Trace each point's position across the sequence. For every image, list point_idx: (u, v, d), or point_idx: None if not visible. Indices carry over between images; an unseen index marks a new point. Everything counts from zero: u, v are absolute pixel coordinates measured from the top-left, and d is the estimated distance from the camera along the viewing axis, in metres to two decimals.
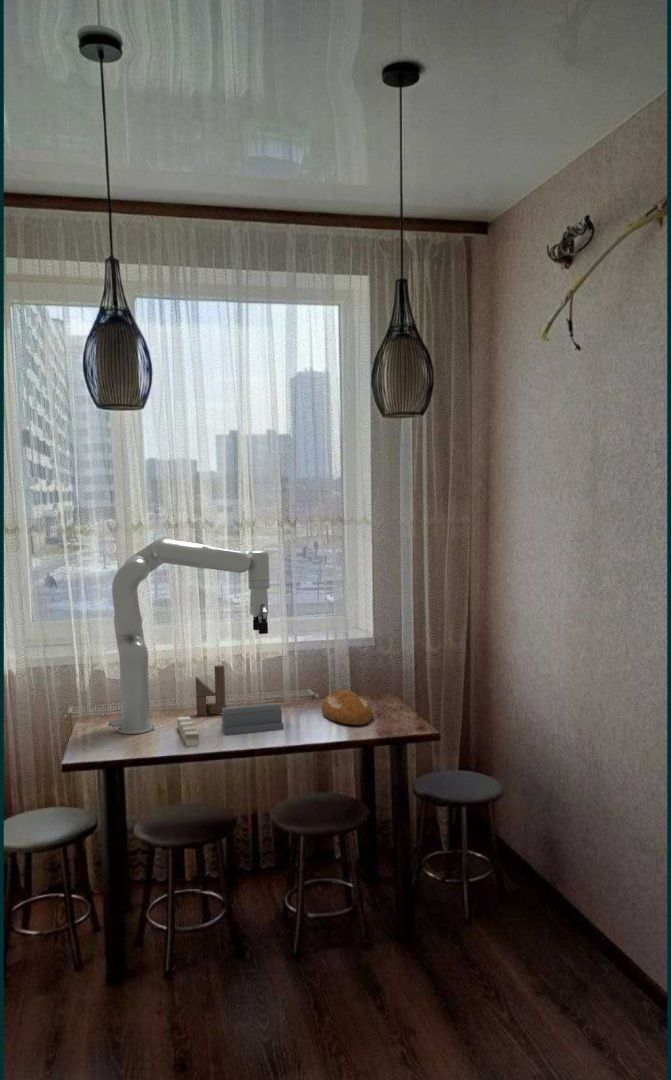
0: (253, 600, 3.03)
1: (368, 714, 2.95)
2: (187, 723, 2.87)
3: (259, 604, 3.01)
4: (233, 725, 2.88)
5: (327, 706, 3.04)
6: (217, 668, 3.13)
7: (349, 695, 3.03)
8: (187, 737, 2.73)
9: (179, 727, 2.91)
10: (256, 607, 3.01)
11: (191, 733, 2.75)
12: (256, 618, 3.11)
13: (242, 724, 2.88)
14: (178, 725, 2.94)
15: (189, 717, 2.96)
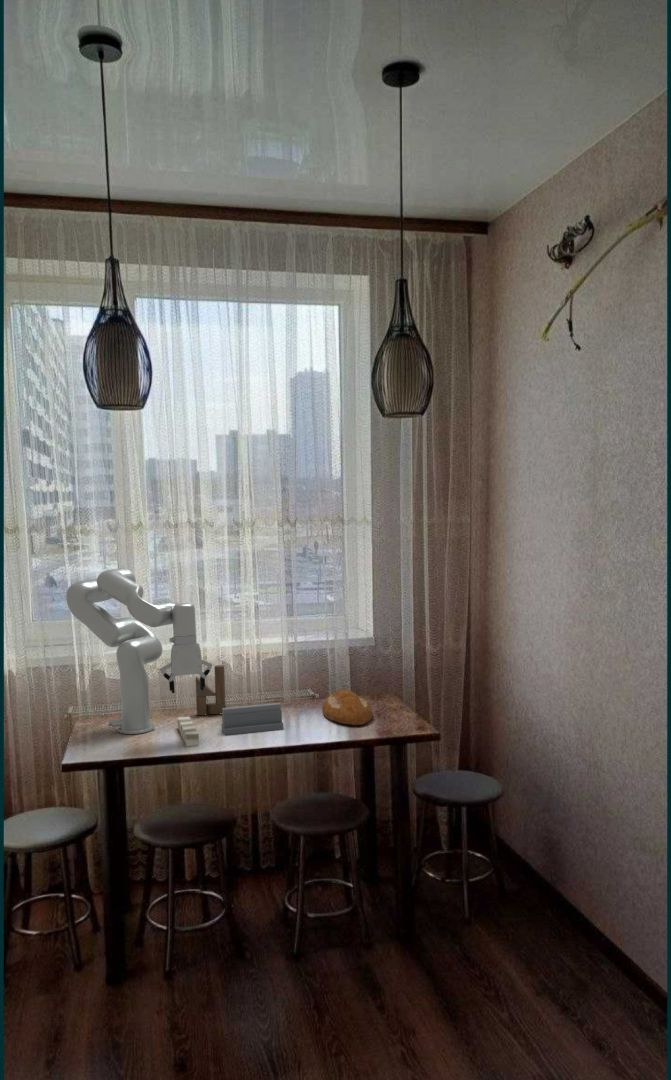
0: (194, 656, 2.82)
1: (367, 715, 2.95)
2: (187, 723, 2.87)
3: None
4: (233, 725, 2.88)
5: (327, 706, 3.04)
6: (217, 668, 3.13)
7: (349, 695, 3.03)
8: (187, 737, 2.73)
9: (179, 727, 2.91)
10: (201, 662, 2.83)
11: (191, 733, 2.75)
12: (172, 679, 2.83)
13: (242, 724, 2.88)
14: (178, 725, 2.94)
15: (189, 717, 2.96)
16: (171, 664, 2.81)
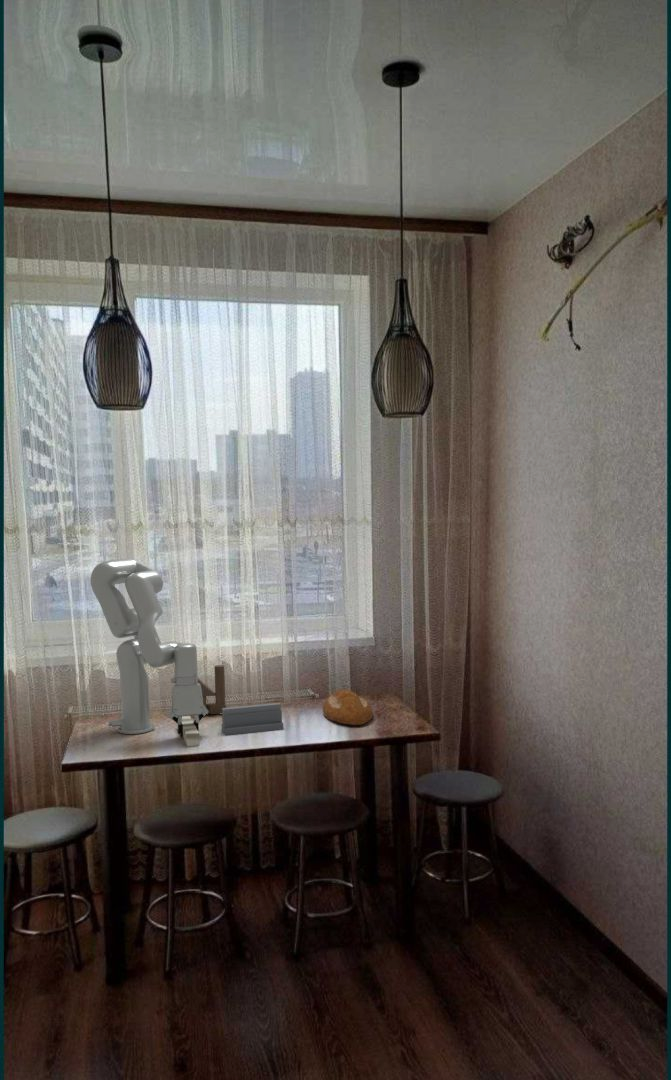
0: (195, 697, 2.83)
1: (367, 715, 2.95)
2: (188, 722, 2.87)
3: (202, 699, 2.85)
4: (233, 725, 2.88)
5: (327, 706, 3.04)
6: (217, 668, 3.13)
7: (349, 695, 3.03)
8: (188, 736, 2.73)
9: None
10: (202, 703, 2.84)
11: (191, 732, 2.74)
12: None
13: (242, 724, 2.88)
14: None
15: (189, 716, 2.95)
16: (172, 705, 2.82)
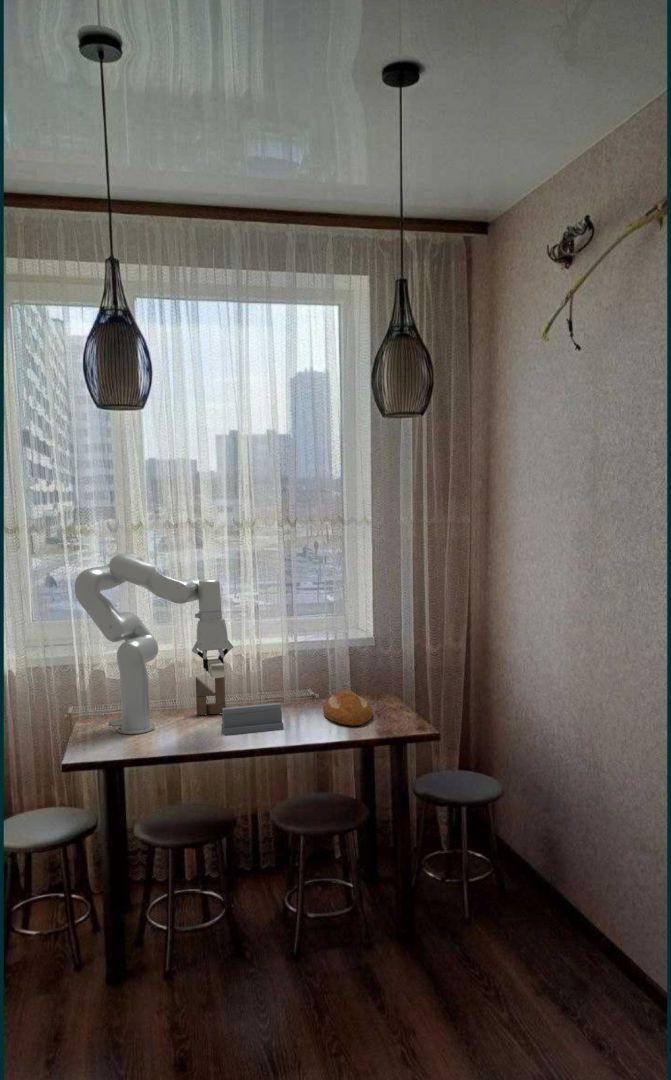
0: (220, 631, 2.84)
1: (366, 715, 2.94)
2: (212, 658, 2.89)
3: None
4: (233, 725, 2.88)
5: (327, 706, 3.04)
6: None
7: (349, 695, 3.03)
8: (213, 668, 2.74)
9: None
10: (227, 637, 2.85)
11: (217, 665, 2.76)
12: None
13: (242, 724, 2.88)
14: None
15: (214, 654, 2.97)
16: (197, 639, 2.83)
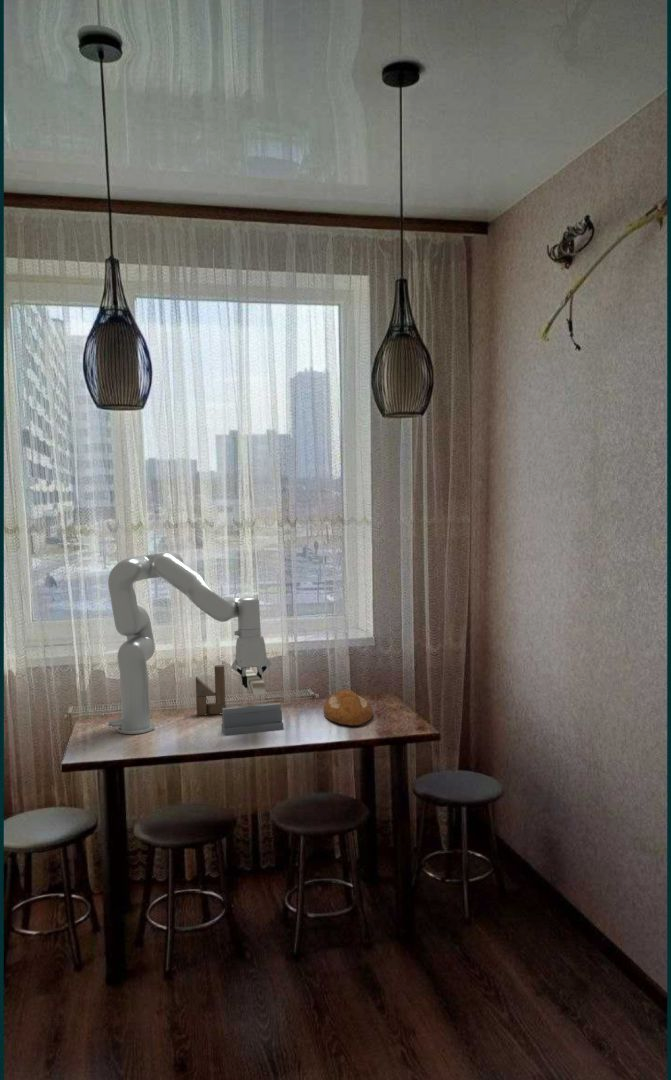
0: (259, 649, 2.88)
1: (365, 715, 2.94)
2: (251, 674, 2.93)
3: None
4: (233, 725, 2.88)
5: (327, 706, 3.04)
6: (217, 668, 3.13)
7: (349, 695, 3.03)
8: (254, 685, 2.79)
9: None
10: None
11: (257, 682, 2.80)
12: (245, 673, 2.90)
13: (242, 724, 2.88)
14: (241, 678, 3.00)
15: (251, 670, 3.01)
16: (237, 657, 2.88)
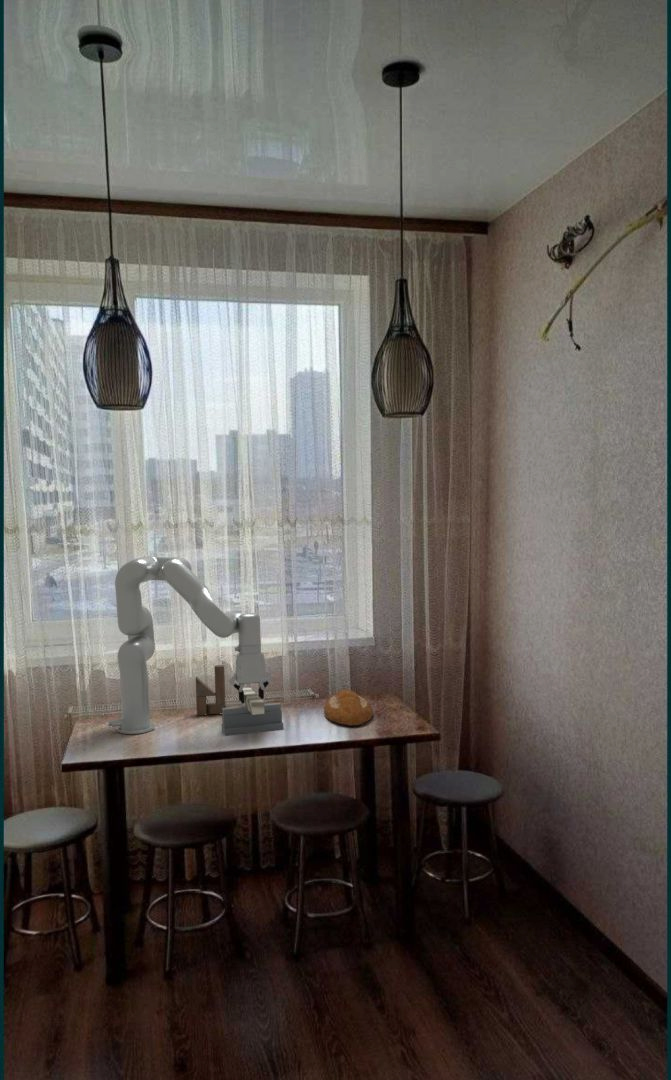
0: (259, 665, 2.89)
1: (364, 715, 2.94)
2: (250, 693, 2.93)
3: None
4: (233, 725, 2.88)
5: (327, 706, 3.05)
6: (217, 668, 3.13)
7: (349, 695, 3.02)
8: (253, 704, 2.79)
9: None
10: (265, 671, 2.90)
11: (256, 701, 2.80)
12: (242, 689, 2.90)
13: (242, 724, 2.88)
14: None
15: (250, 688, 3.01)
16: (236, 673, 2.88)
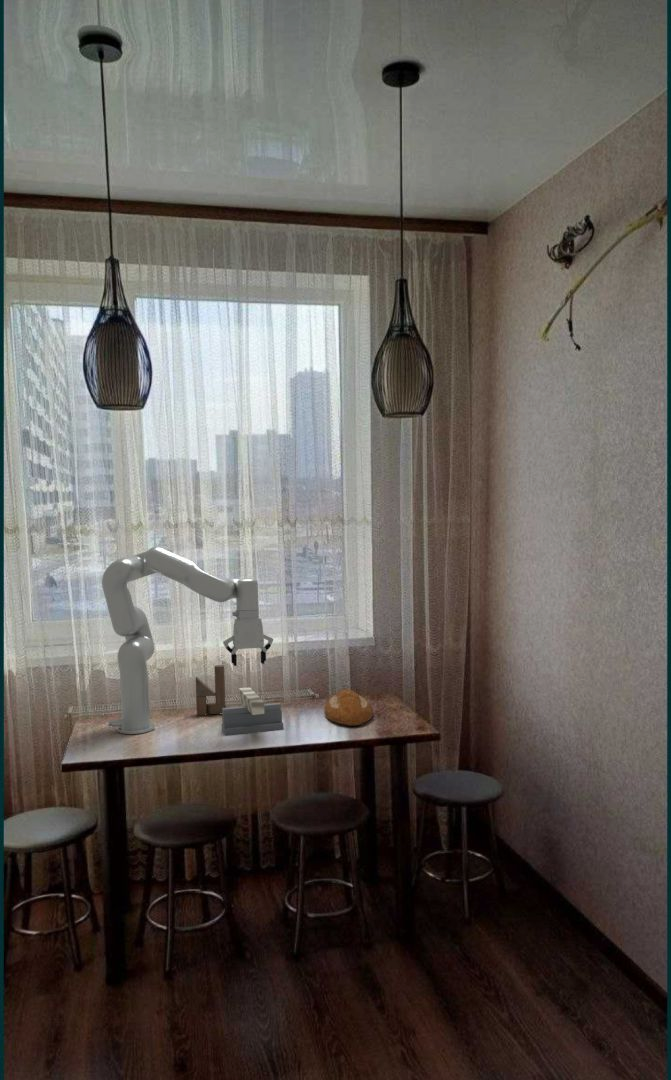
0: (256, 630, 2.89)
1: (364, 715, 2.94)
2: (250, 693, 2.93)
3: None
4: (233, 725, 2.88)
5: (327, 706, 3.05)
6: (217, 668, 3.13)
7: (349, 695, 3.02)
8: (253, 705, 2.79)
9: (241, 697, 2.97)
10: (263, 636, 2.90)
11: (257, 701, 2.80)
12: None
13: (242, 724, 2.88)
14: (240, 695, 3.00)
15: (250, 688, 3.01)
16: (234, 637, 2.88)
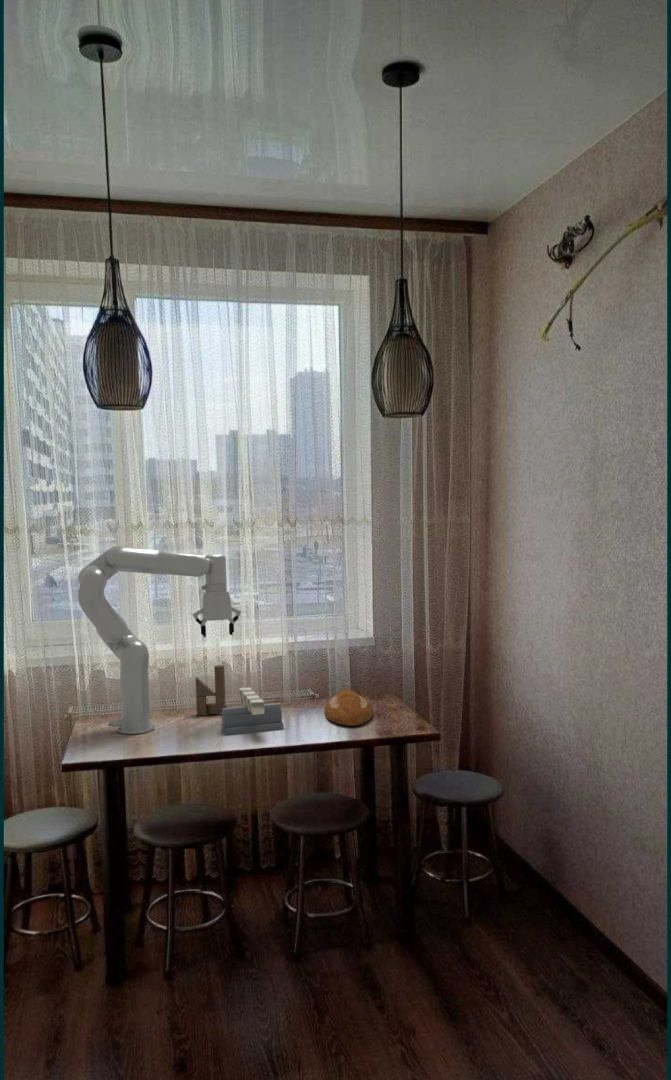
0: (224, 603, 3.04)
1: (363, 716, 2.94)
2: (250, 693, 2.93)
3: None
4: (233, 725, 2.88)
5: (327, 706, 3.05)
6: (217, 668, 3.13)
7: (349, 696, 3.02)
8: (253, 705, 2.79)
9: (241, 697, 2.97)
10: (231, 609, 3.05)
11: (257, 701, 2.80)
12: None
13: (242, 724, 2.88)
14: (240, 695, 3.00)
15: (250, 688, 3.01)
16: (203, 610, 3.03)
